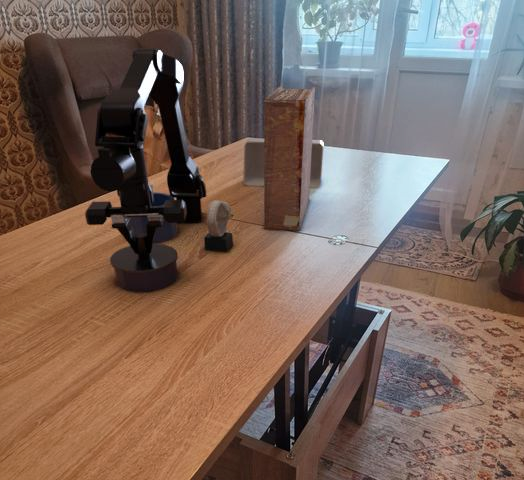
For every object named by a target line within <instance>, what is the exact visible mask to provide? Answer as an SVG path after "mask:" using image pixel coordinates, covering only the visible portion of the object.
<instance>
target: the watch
mask: <svg viewBox="0 0 524 480" xmlns="http://www.w3.org/2000/svg"><path fill="white" fill-rule="evenodd" d="M231 213H232V207H231V205H230V204H228V203H227V202H226V201H224V200H220V199H216V200H211V201H210V203H209V205H208V207H207V213H206V217H207V218H206V226H207V230H208V233H206V235H205V236H204V237H203V241H204V242H203V243H204V250H205V251H213V252H221V253H228V252H229V250H230V249H232V247H233V246H234V239H233V237H234V235H233V232H227V231H226V230H227V226H228V221H229V220H230V216H231Z"/></svg>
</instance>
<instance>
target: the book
mask: <svg viewBox="0 0 524 480" xmlns="http://www.w3.org/2000/svg"><path fill="white" fill-rule="evenodd" d="M315 94H316V87H315V86H312V88H283V86H282V85H280V86H278V87H277V88H276V89H275V90H274V91H273V92H272V93H271V94H270V95H268V96H267V97H266V98H265V99H264V100H263V101H264V107H263V109H264V111H263V112H264V113H263V114H264V115H263V117H264V123H263V124H264V125H263V129H264V131H263V132H264V133H263V136H264V138H263V139H264V186H263V198H264V199H263V205H264V206H263V210H264V211H263V215H264V216H263V218H264V219H263V229H267V230H281V231H295V232H296V231H297V232H299V231H300V230H301V226H302V224H303V221H304V217H305V214H306V211H307V208H308V204H309V202H310V189H311V188H310V170H311V151H312V140H313V132H314V131H313V130H314V129H313V128H314V114H315V113H314V112H315Z"/></svg>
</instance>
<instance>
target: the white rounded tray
mask: <svg viewBox="0 0 524 480" xmlns="http://www.w3.org/2000/svg"><path fill="white" fill-rule="evenodd" d="M324 145H325V143H324V141H323V140H321V139H312V151H311V170H310V188H309V189H318V188H320V187H321V184H322V178H323V177H322V176H323V175H322V174H323V163H324V162H323V160H324V149H325V148H324ZM242 177H243V178H242V180H243V181H242V182H243V184H244V185H245V186H248V187H249V186H251V187H264V138H258V137H256V138H255V137H254V138H253V137H250V138H248V139H247V140H246V142H245V143H244V145H243V176H242Z"/></svg>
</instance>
